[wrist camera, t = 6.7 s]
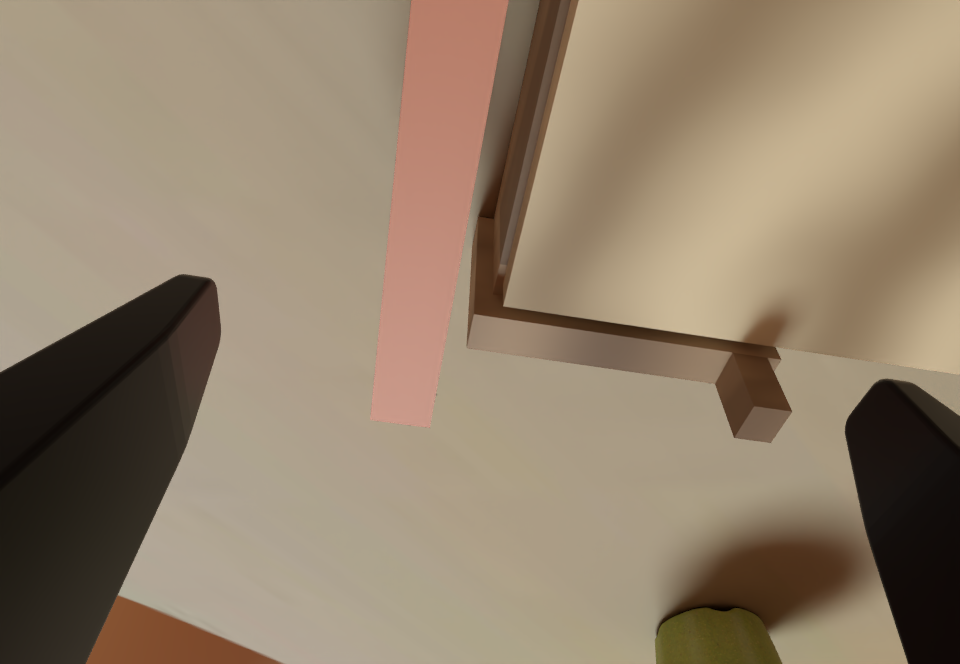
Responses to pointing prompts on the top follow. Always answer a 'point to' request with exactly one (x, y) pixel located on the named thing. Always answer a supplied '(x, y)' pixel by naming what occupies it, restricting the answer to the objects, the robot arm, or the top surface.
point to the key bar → (432, 195)
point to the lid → (753, 175)
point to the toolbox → (521, 332)
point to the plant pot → (715, 639)
